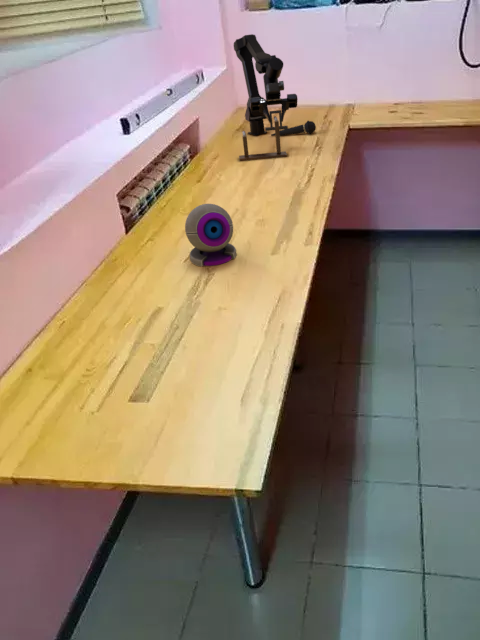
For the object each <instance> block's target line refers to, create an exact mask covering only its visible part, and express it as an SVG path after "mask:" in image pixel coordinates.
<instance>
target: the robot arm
mask: <svg viewBox="0 0 480 640" xmlns="http://www.w3.org/2000/svg"><path fill="white" fill-rule="evenodd" d="M233 51H235V55H236V57H237V58H238V61H240V62H241V66H242V70H243V76H244V80H245V84H246V85H245V86H246V90H247V95H248V98H247V101H246V109H245V113H244V119H245V121H246V122H248V123H249V130H250V131H248V132H247V134H248V135H251V136H255V137H258V136H261V135H265V134H267V133H268V131H265V123H264V120H267V121H268V123H269V124H270V123H271V121H270V115H269V111H270V110H269V108H268V107H269V106H279V105H281V118H282V123H283V122H284V117H285V114H286V112H287V111H289V109H296V108H297V107H298V95H297V94H296V93H287V94H286V97H285V98H281V96H282V94H281V91H285V81H284V80H279V78H280V77H281V74H282V72H283V68H284V61H282V59H281V58H279V57H277V55H276V54H273V55H271V54H270V53H267V52H265V50H264V49H263V47H262V46H261V44H260V43H259V40H257V36H256V34H252V33H251V34H245V35H243V36H242V37H240V38H236V39H235V41H234V42H233ZM253 59H254V61H255V62H253ZM254 65H255V66H254ZM255 70H256V71H255ZM256 72H257V73H258V74H259V75H263V76H262V79H263V86H264V93H265V95H264V96H265V98H264V97H263V96H261V95H260V92H259V86H258V80H257V76H256Z"/></svg>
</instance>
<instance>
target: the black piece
mask: <svg viewBox="0 0 480 640" xmlns="http://www.w3.org/2000/svg"><path fill="white" fill-rule="evenodd" d="M268 111H269V115H270V121H271V123H269V126H268V127H264V131H266V132H269V131H270V132H271V131H275V126H274V125H273V114H274V115H275V114H278V117H279V118H278V121H279V131H280V130H284V129H288V128H289V126H288V125H283V122H282V118H281V113H282V109H278V110H268Z"/></svg>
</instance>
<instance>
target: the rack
mask: <svg viewBox="0 0 480 640" xmlns="http://www.w3.org/2000/svg"><path fill="white" fill-rule="evenodd" d="M273 120H274V121H273V123H274V127H275V130H274V133H275V147H276V148H275V149H276V150H275V151H274V152H264V153H263V152H262V153H251V154H249V146H248V145H249V144H248V136H247V134H246V131H245V130H243V131H241V132H242V145H243V153H244V154H242V155H238V160H239V162H246V161H257V160H266V159H267V160H268V159H279V158H288V154H287V151H286V150H285V151H282V146H281V136H280V132H279V131H280V130H279V126H280V120H279V118H278V117H277V115H276V116H273Z"/></svg>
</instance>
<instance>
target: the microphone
mask: <svg viewBox="0 0 480 640" xmlns="http://www.w3.org/2000/svg"><path fill="white" fill-rule="evenodd" d="M316 127H317V126H316V123H315V122H314V121H312V120H307V121H306V122H305V123H304V124H300V125H296V126H292V127H288V129H282V130H279V132H280V137H283V136H290V135H299V134H305V133H306V134H309V135H312V134H313V133H315V132H316V129H317V128H316ZM270 136H272V137H274V136H275V132H274V133H271V134H270ZM275 137H276V136H275Z"/></svg>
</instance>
